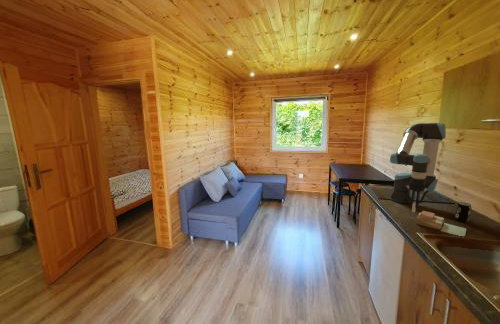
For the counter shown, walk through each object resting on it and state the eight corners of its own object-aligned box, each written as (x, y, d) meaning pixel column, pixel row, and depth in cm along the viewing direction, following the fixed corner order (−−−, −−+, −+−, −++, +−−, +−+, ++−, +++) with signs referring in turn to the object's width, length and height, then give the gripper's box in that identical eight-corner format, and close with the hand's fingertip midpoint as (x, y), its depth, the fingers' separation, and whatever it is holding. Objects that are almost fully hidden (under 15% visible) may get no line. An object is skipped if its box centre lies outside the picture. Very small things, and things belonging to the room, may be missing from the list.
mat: (444, 223, 133) (444, 222, 133) (466, 229, 125) (466, 228, 125) (440, 231, 124) (440, 230, 124) (464, 237, 116) (464, 237, 116)
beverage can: (451, 218, 140) (454, 201, 137) (463, 218, 138) (466, 202, 136) (459, 222, 133) (463, 205, 131) (471, 223, 132) (475, 205, 130)
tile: (422, 213, 139) (422, 210, 138) (434, 216, 134) (434, 213, 134) (419, 217, 133) (419, 214, 132) (431, 220, 128) (432, 217, 128)
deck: (419, 217, 141) (420, 212, 141) (442, 223, 132) (443, 217, 132) (415, 223, 134) (416, 217, 133) (440, 230, 125) (441, 224, 124)
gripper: (404, 177, 137) (400, 210, 141) (430, 180, 127) (424, 216, 131) (407, 175, 141) (403, 207, 146) (432, 178, 132) (427, 212, 136)
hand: (413, 211), depth 138 cm, fingers closed
